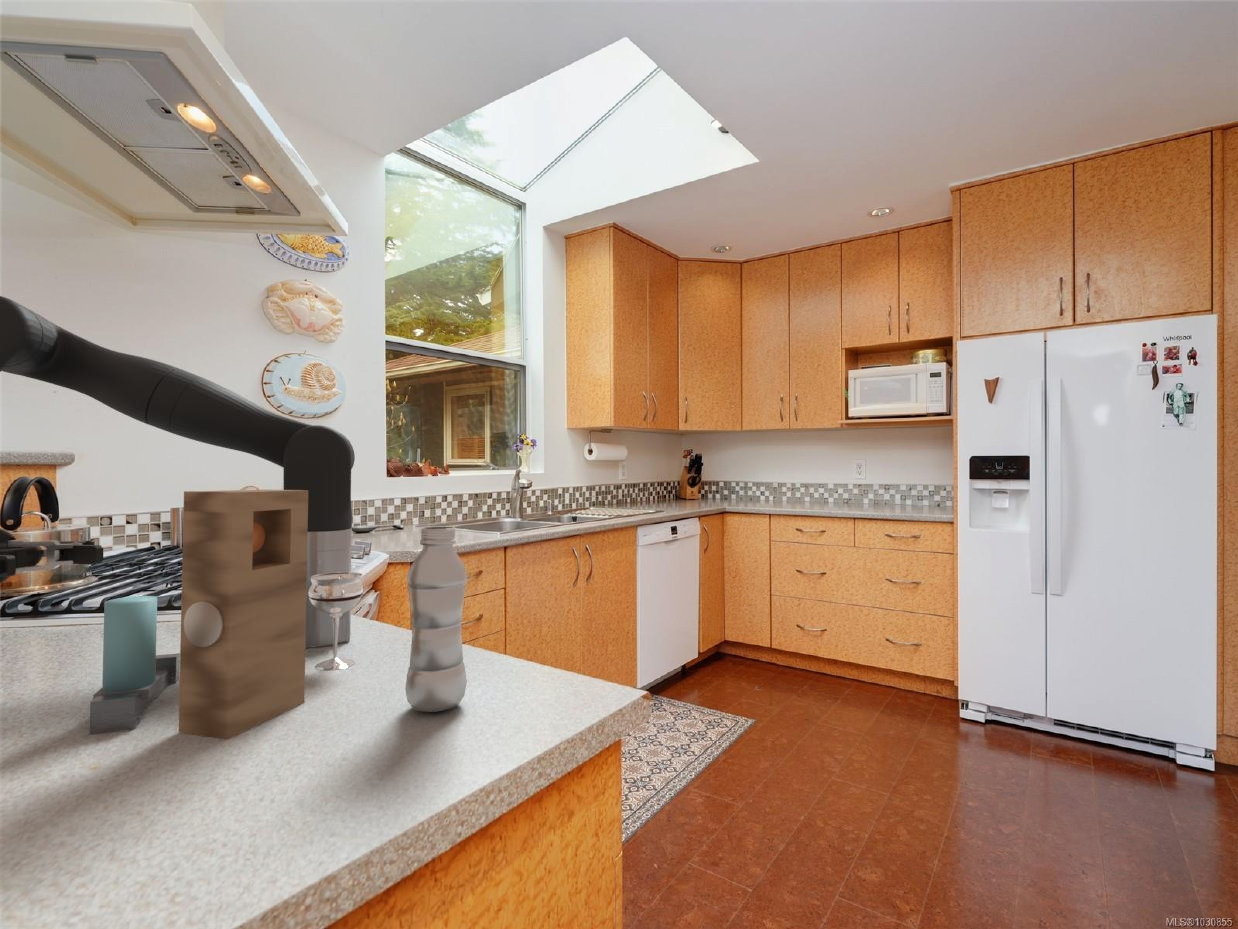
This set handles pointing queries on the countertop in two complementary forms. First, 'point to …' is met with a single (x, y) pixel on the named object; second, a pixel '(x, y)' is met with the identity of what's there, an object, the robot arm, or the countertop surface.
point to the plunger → (258, 536)
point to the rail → (130, 701)
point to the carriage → (130, 647)
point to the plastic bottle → (436, 623)
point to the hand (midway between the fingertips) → (58, 560)
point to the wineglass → (335, 605)
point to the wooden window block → (242, 609)
